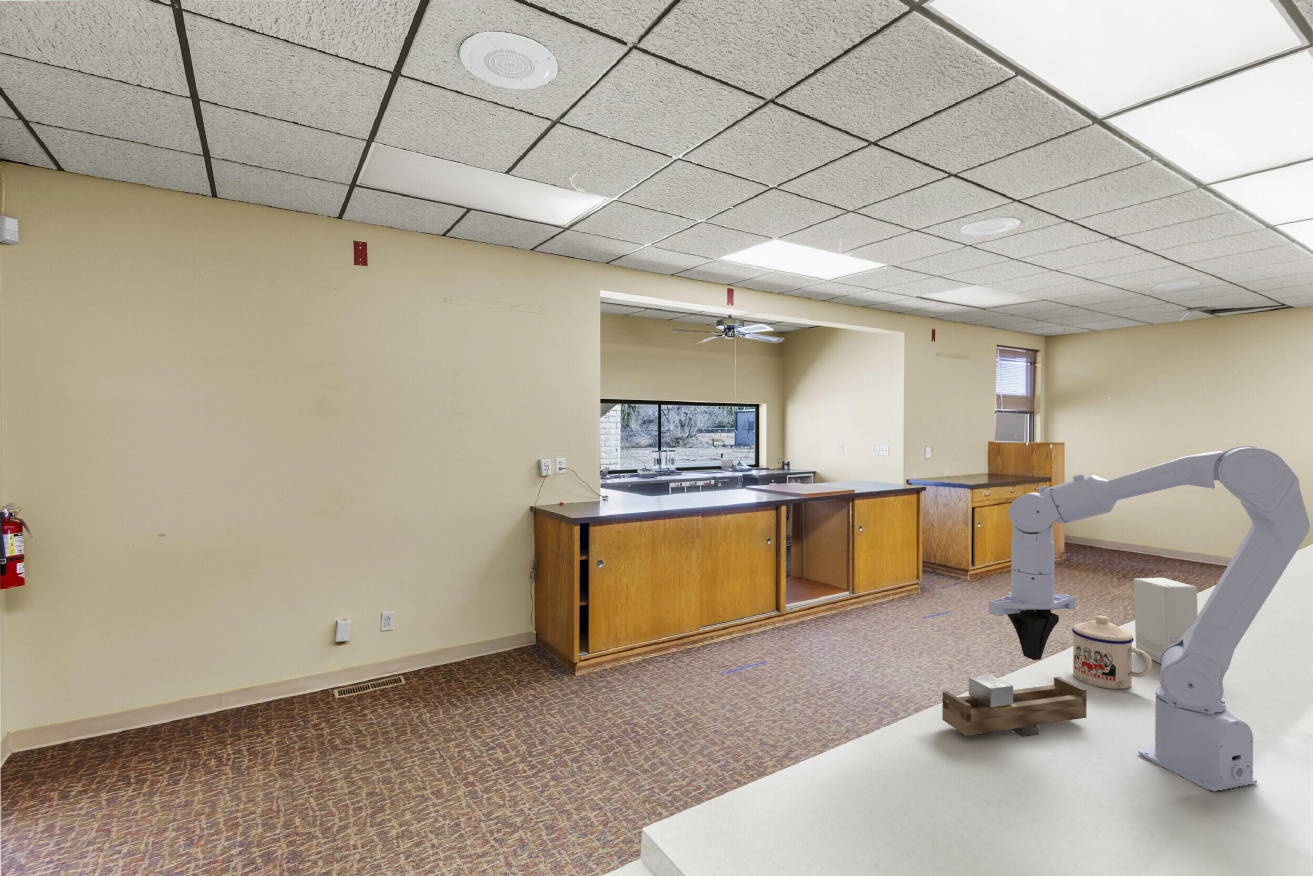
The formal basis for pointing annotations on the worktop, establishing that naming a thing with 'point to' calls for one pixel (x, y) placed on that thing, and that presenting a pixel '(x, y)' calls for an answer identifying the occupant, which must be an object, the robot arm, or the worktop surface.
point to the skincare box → (1162, 613)
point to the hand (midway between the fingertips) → (1032, 657)
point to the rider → (990, 691)
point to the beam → (1017, 709)
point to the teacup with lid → (1105, 654)
